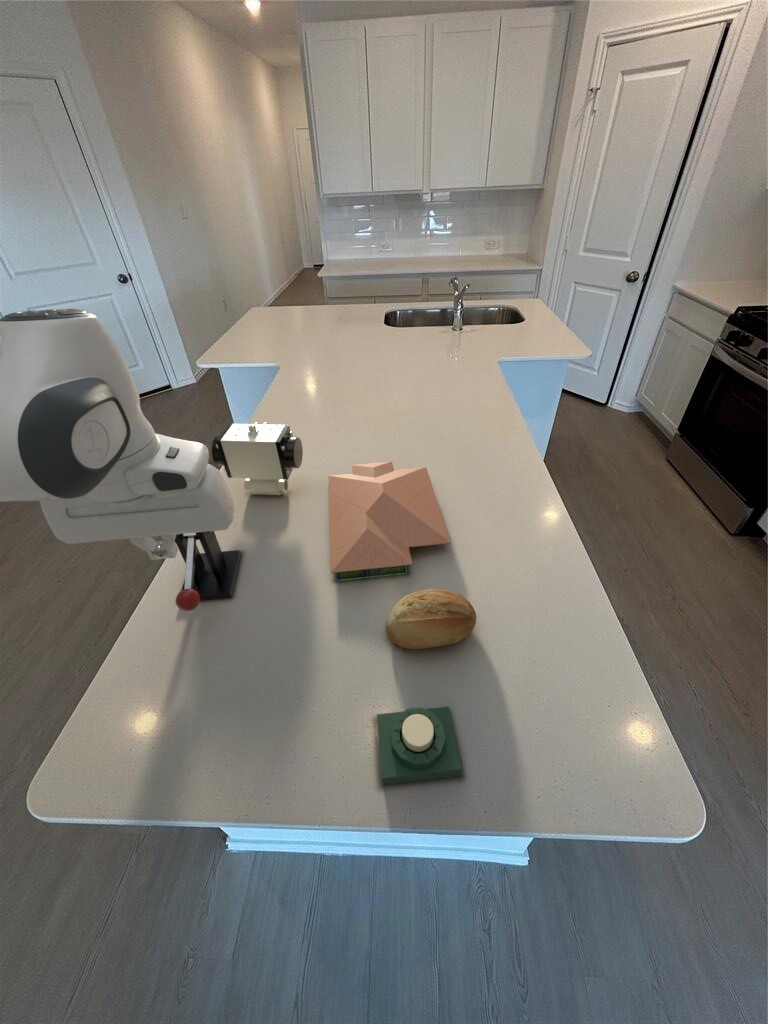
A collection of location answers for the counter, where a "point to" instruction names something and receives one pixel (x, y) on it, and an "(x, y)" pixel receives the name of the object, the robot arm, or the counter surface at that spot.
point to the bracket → (211, 566)
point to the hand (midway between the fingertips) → (165, 555)
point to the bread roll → (430, 619)
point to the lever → (189, 577)
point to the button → (417, 733)
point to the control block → (417, 765)
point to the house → (381, 517)
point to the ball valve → (258, 455)
